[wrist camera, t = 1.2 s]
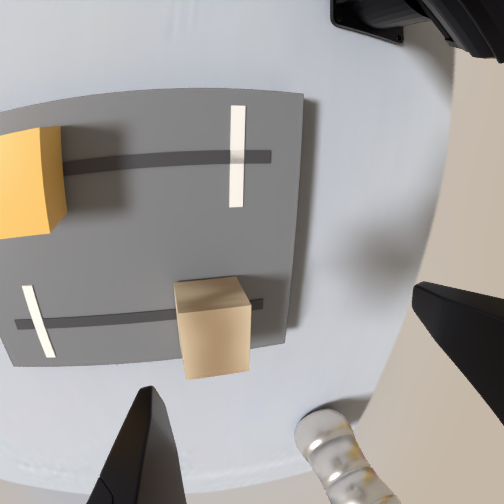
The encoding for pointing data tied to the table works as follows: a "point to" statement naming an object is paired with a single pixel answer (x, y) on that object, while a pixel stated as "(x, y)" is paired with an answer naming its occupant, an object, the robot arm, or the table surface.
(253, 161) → the fader panel
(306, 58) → the table surface
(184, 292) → the oak fader
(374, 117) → the table surface
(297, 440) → the plastic bottle
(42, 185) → the block
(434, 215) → the table surface
